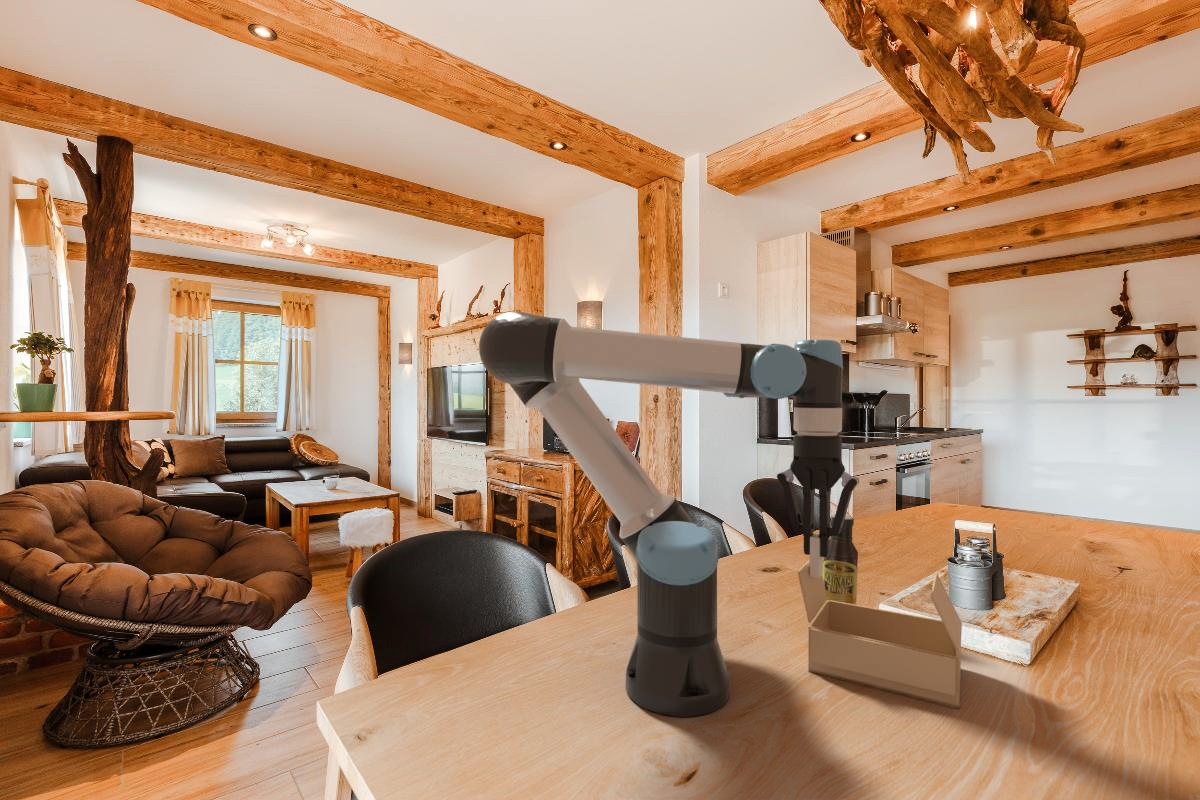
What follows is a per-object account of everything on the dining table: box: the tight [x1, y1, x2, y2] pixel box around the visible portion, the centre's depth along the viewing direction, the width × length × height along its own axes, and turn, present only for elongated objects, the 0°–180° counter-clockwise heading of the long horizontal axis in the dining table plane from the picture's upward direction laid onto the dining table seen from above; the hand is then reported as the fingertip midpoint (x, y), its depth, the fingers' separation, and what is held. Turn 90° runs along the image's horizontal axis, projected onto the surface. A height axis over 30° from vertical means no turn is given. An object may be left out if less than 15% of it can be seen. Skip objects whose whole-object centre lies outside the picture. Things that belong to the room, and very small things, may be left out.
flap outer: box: [930, 572, 963, 654], centre depth 86 cm, size 13×1×8 cm, turn 147°
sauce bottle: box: [821, 514, 859, 608], centre depth 111 cm, size 6×6×20 cm
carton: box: [807, 600, 962, 710], centre depth 90 cm, size 15×20×7 cm
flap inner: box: [797, 558, 827, 624], centre depth 96 cm, size 13×1×8 cm, turn 147°
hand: (816, 574), depth 96 cm, fingers closed
